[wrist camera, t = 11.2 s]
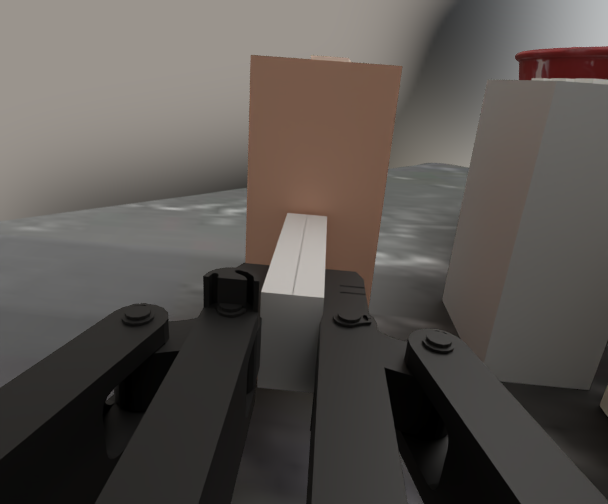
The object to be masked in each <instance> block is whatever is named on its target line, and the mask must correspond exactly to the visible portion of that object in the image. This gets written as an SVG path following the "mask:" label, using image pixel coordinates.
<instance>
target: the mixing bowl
mask: <svg viewBox="0 0 608 504" xmlns="http://www.w3.org/2000/svg"><path fill="white" fill-rule="evenodd" d="M515 59H516V60H517V61H519V80H531V79H532V78H547V79H551V78H567V79H575V78H585V79H606V80H608V46H607V47H572V48H553V49H539V50H530V51H524V52H520V53H517V54H516V56H515Z"/></svg>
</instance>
